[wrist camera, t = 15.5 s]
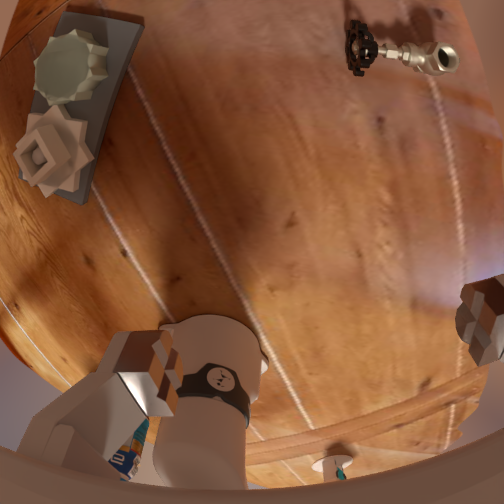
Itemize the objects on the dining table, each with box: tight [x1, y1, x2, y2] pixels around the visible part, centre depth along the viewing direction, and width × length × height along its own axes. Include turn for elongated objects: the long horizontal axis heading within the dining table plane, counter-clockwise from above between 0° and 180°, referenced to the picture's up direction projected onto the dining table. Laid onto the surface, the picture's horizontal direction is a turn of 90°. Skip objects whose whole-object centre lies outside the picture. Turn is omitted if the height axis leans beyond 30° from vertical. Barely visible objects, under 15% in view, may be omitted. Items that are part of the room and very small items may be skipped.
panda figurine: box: [312, 455, 353, 483], centre depth 65 cm, size 12×11×15 cm
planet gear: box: [13, 104, 95, 198], centre depth 32 cm, size 13×13×5 cm
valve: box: [345, 20, 460, 77], centre depth 27 cm, size 7×7×12 cm
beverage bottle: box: [108, 417, 149, 482], centre depth 53 cm, size 8×8×20 cm
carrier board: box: [18, 11, 144, 205], centre depth 30 cm, size 24×12×6 cm, turn 156°
